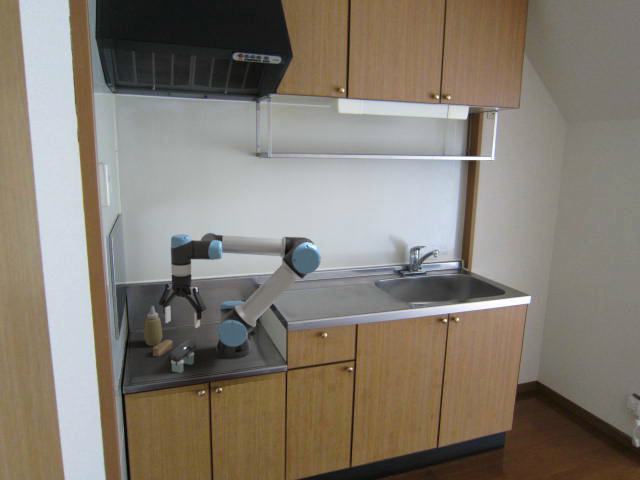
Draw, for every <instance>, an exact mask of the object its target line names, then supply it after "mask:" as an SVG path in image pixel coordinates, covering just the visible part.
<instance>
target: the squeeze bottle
mask: <svg viewBox="0 0 640 480" xmlns="http://www.w3.org/2000/svg"><path fill="white" fill-rule="evenodd" d="M155 310H156V309H155V306H154V305H151V306H150V309H149V312H148V313H147V316H146V317H147V318H146V319H144V330H143V331H144V333H143V338H144V339H143V340H144V341H145V345H147V346H148V347H155V346H157V345H159V344H160V343H162V339H163V328H162V323H161V318H160V317H159V313H158V312H156V311H155Z"/></svg>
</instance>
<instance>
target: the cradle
mask: <svg viewBox="0 0 640 480" xmlns="http://www.w3.org/2000/svg"><path fill="white" fill-rule="evenodd" d="M194 359H195V351H192V352H191V353H189V354H188V355H187V356H185V357H184V358H183V359H181V360H180V361H178V362H175V361H173V360H172V359H171V360H170V364H171V372H174V373H177V374H178V373H179V374H182V373H183V372H184V364H185V365H190V366H191V365H194V362H195V360H194Z"/></svg>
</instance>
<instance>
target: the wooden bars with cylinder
mask: <svg viewBox="0 0 640 480" xmlns="http://www.w3.org/2000/svg"><path fill="white" fill-rule="evenodd" d="M172 349H173V340H171V339H165V340H163V341H161V342H160V344H159V345H156V346H153V348H152V356H153V357H161V356H162V355H164V354H166V353H167V352H168V351H170V350H172Z"/></svg>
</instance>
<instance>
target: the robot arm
mask: <svg viewBox="0 0 640 480" xmlns="http://www.w3.org/2000/svg"><path fill="white" fill-rule="evenodd" d="M191 237H192V236H191V235H190V234H175V235H172V236H171V238H170V255H171V256H170V261H171V262H170V267H171V268H170V269H171V271H170V272H171V282H168V283H165V284H164V285H165V286H164V291H163V293H162V295H161V297H160V299H159V301H158V305H159V306H162V308H163V315H164V321H165V322H164V323H165V324H168V323H169V322H171V320H172V312H171V309H172V308H171V305H170V304H171V303H172V302H173V300H175V298H176V297H181V298H185V299H186V300H187V301H188V302H189V303H190V305H191V306H192V308H193V309H194V314H193V315H194V316H193V317H194V329H197V328H199V327H200V326H201V320H202V318H203V317H202V314H203V313H202V312H204V311H206V309H207V307H206V305H205V303H204V300H203V298H202V296H201V294H200V293H201V292H200V289H199V286H195V287H193V286H192V260H205V261H206V260H207V261H208V260H211V261H214V260H221V259H222V258H223V254H235V255H236V254H237V255H253V256H257V255H258V256H268V257H269V256H271V257H281V265H280V266H279V267H278V268H276V270H274V272H273V273H272V274H271V275H270V276H269V277H268V278H267V279H265V281H264V282H263V283H262V284H261V285H260V286H259V287H258V288H257V289H256V290H255V291H254V292H253V293H252V294H251V295H250V296H249V297H248V298H247V299H246V300H245V301H243V300H242V301H241V300H227V301H224V302H221V303H220V305H219V306H220V307H219V311H220V314H219V322H218V323H219V324H218V328H217V335H218V341H217V343H216V350H215V351H216V354H217V355H218V356H219V357H221V358H225V359H239V358H243V357H245V356H247V355H249V354H250V353H251V342H250V339H249V337H248V335H249V333H250V332H251V331H252V330H253V329H254V328H255V327H256V325H257V320H258V319H259V318H260V317H261V316H262V315H263V314H264V313H265V312H266V311H267V310H268V309H269V308H270V307H271V306H272V305H273V304H274V303H275V302H276V301H277V300H278V299H279V298H280V297H281V296H282V295H283V294H284V293H285V292H286V291H287V290H288V289H289V288H290V287H291V285H292V284H294V283H295V281H297V280H303V279H304V278H305V277H306V276H307V275H308V274H312V273H314V272H315V271H316V270H318V268H319V267H320V264H321V261H322V260H321V258H322V257H321V252H320V250H319V248H318V247H317V245H316V244H315V243H314V241H313V240H311V239H310V238H308V237H299V236H298V237H297V236H283V237H282V238H273V237H255V236H254V237H253V236H242V235H241V236H239V235H227V234H226V235H221V234H216V233H214V232H209V233H208V232H207V233H205V234H204V235H203V236H202V237H201V239H200V240H195V239H193V240H192V238H191ZM171 290H172V293H171V294H170V292H171ZM169 294H170V295H169Z"/></svg>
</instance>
